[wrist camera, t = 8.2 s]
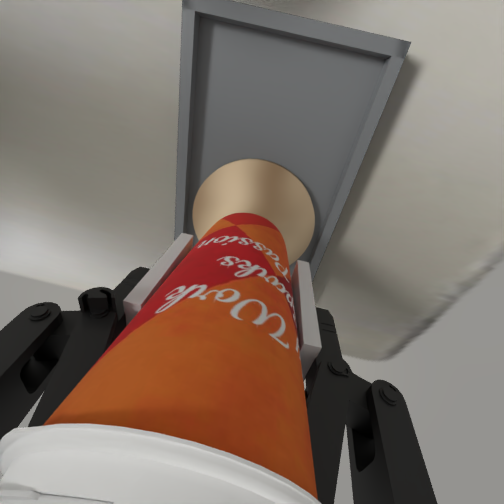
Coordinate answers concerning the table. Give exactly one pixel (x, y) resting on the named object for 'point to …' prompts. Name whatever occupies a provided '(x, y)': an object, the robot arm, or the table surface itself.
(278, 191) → the pad
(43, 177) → the table surface
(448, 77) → the table surface
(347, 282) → the table surface
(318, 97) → the tray
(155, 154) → the table surface
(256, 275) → the coffee cup
